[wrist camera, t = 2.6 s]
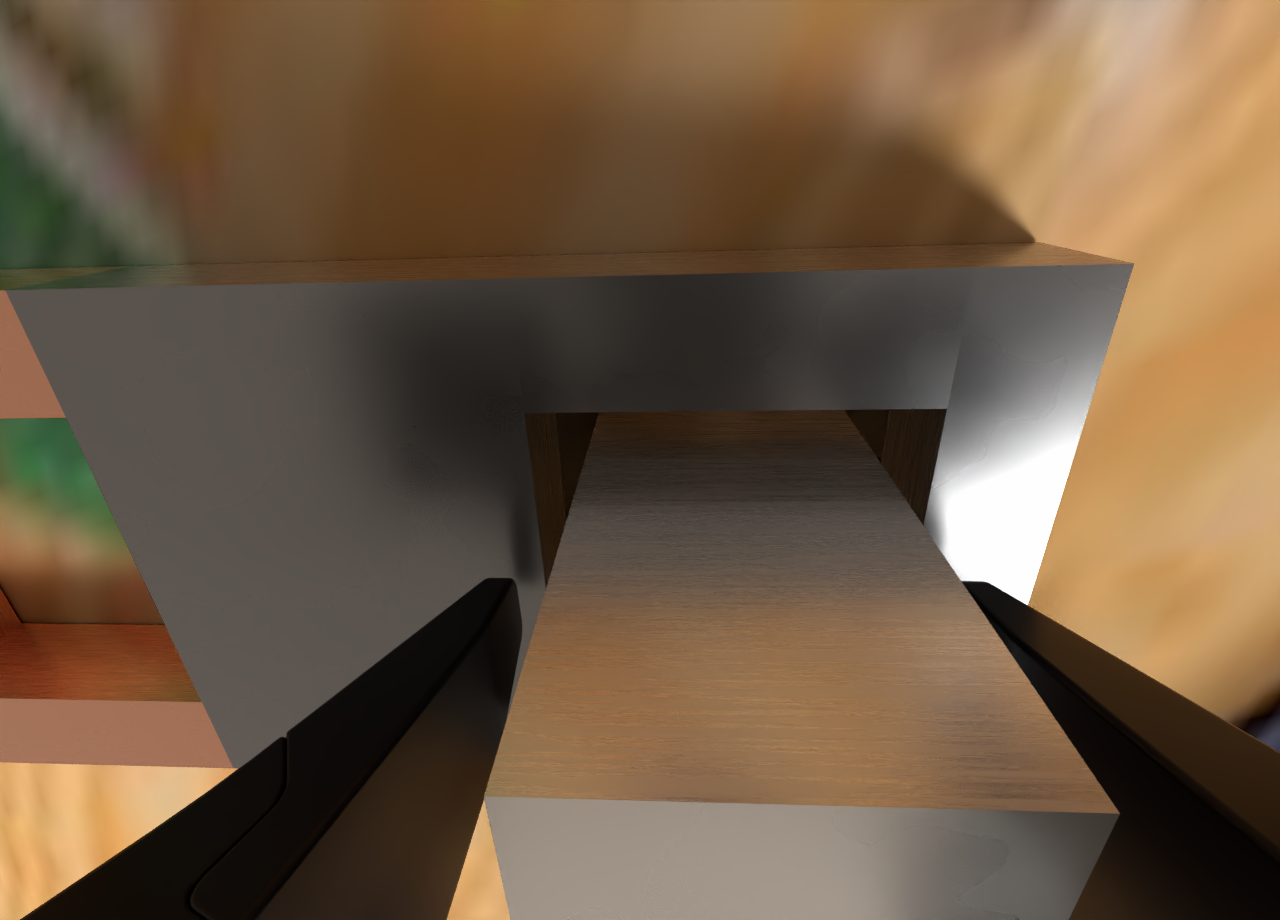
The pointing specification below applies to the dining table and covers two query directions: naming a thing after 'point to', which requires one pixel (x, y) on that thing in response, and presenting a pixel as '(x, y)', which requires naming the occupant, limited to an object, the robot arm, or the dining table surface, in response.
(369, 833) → the robot arm
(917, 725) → the grey metal block
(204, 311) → the grey copper slotted plate
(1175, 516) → the dining table surface
